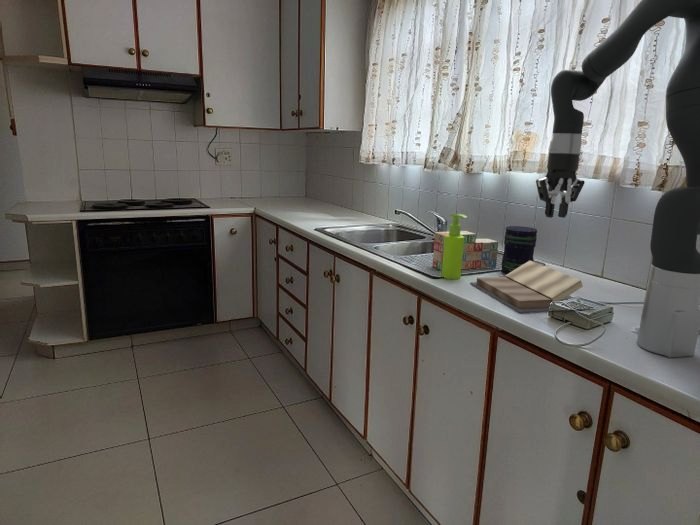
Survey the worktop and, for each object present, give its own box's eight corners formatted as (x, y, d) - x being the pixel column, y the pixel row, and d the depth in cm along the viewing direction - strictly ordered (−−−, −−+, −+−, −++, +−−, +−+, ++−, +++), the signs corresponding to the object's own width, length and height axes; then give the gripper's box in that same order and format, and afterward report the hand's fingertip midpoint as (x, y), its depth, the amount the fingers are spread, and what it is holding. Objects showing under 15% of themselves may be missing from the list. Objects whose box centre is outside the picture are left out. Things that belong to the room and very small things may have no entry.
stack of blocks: (485, 263, 168) (489, 229, 165) (496, 268, 162) (499, 233, 159) (431, 266, 161) (434, 231, 158) (440, 271, 156) (443, 234, 153)
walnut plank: (549, 306, 121) (550, 299, 120) (518, 308, 118) (519, 301, 118) (503, 283, 141) (504, 276, 141) (476, 284, 139) (477, 277, 139)
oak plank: (583, 286, 121) (580, 280, 121) (554, 304, 121) (552, 298, 120) (532, 265, 142) (529, 260, 142) (507, 281, 141) (505, 275, 141)
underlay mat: (594, 309, 122) (595, 307, 121) (519, 313, 116) (519, 311, 116) (534, 281, 146) (534, 279, 146) (469, 284, 141) (470, 282, 141)
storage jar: (517, 268, 162) (522, 225, 158) (538, 275, 153) (544, 230, 150) (494, 270, 158) (498, 226, 155) (514, 278, 149) (520, 231, 146)
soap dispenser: (453, 281, 144) (459, 216, 139) (437, 275, 149) (442, 213, 144) (466, 278, 147) (472, 215, 142) (450, 273, 152) (456, 212, 148)
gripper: (550, 151, 118) (541, 219, 122) (597, 153, 121) (587, 219, 125) (532, 151, 125) (524, 215, 129) (577, 152, 128) (568, 215, 133)
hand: (555, 216), depth 127 cm, fingers open, 3 cm apart
